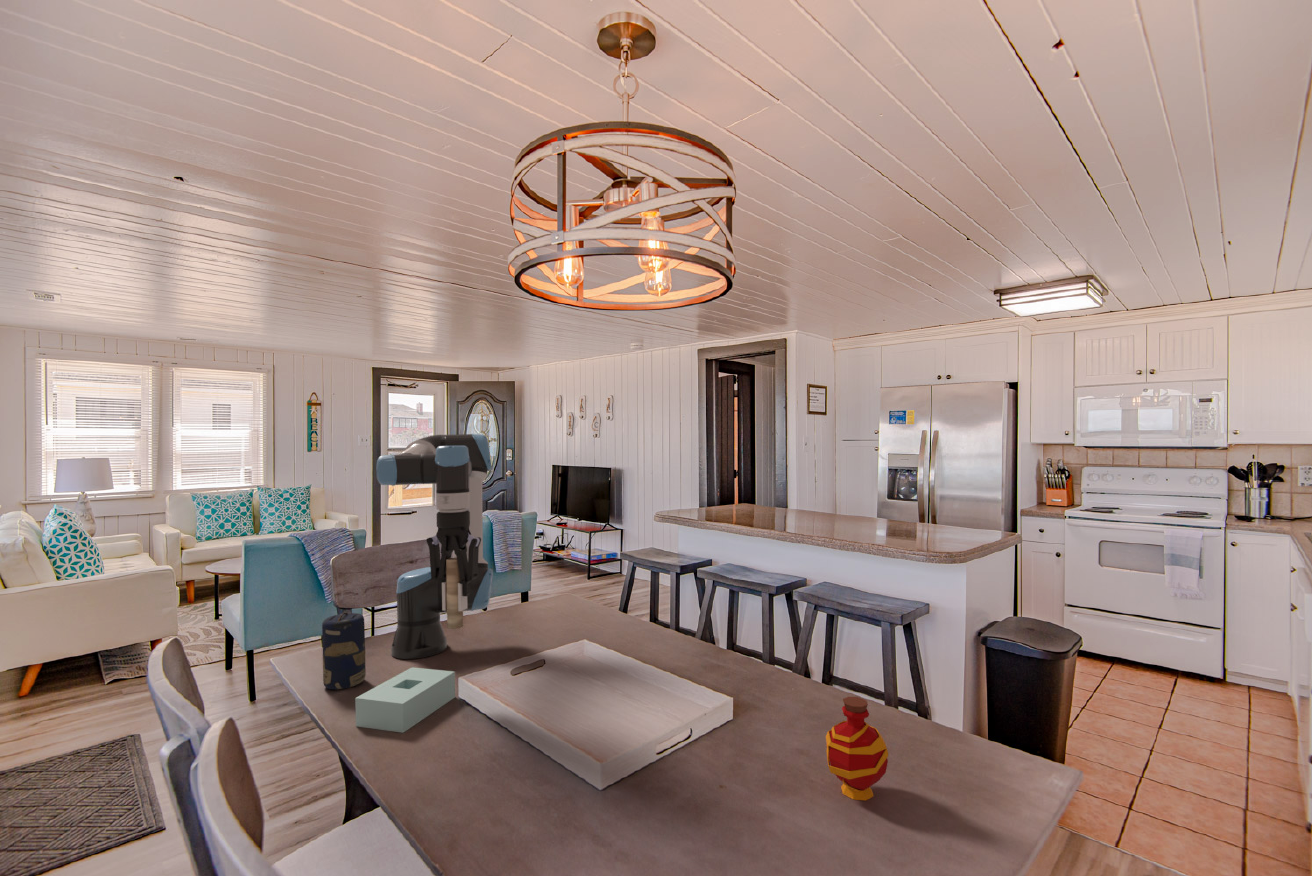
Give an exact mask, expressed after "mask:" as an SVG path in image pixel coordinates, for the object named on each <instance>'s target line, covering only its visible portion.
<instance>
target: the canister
mask: <svg viewBox="0 0 1312 876" xmlns="http://www.w3.org/2000/svg"><path fill="white" fill-rule="evenodd" d="M365 627H366V625H365V617H364V616H363V614H361V613H357V612H355V613H354V612H346V611H345V612H342V613H339V614H334V615H331V616H329V617H327V618H325V619H324V620H323V622H322V623H321V629H322V630H321V632H322V634H321V636H322V639H321V640H322V681H323V686H324V687H325V688H326V689H329V690H343V689H349V688H352V687H355V686H357V685H359V684H361V683H362V682H363V681H364V680H365V679H366V676H367V675H366V673H367V672H366V671H367V670H366V638H365V637H366V633H365V630H366V629H365Z"/></svg>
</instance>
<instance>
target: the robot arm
mask: <svg viewBox="0 0 1312 876" xmlns="http://www.w3.org/2000/svg"><path fill="white" fill-rule="evenodd" d="M375 470H376V479H377V482H378V484H380V485H381V486H392V487H393V486H403V485H407V486H409V485H436V486H435V487H436V489H435V490H436V492H435V493H436V494H435V496H436V497H435V499H436V503H435V504H436V510H437V513H436V527H437V532H436V534H435V535H434V536H431V537H427V538H426V540H425V541H426V544H427V545H428V551H429V565H430V567H429V566H428V567H422V568H417V569H413V570H410V571H406V572H404V573H403V574H401V575H400V576H399V577H398V578H397V581H396V582H397V583H396V591H395V593H396V616H397V618H396V619H397V620H396V621H397V627H396V630H395V633H394V635H393V640H392V643H391V646H390V656H392V657H393V658H396V659H401V660H415V659H422V658H423V659H424V658H428V657H431V656H435V655H438V654H440V653H442V652H443V651H445V650H446V649H447V648H448V639H447V636H446V635H445V631H444V628H443V625H442V623H441V613H443V614H445V613H447V581H446V559H449V558H456V557H457V562H458V568H459V574H460V579H461V581H460V582H459V583H458V611H463V612H466V611H467V612H468V611H471V612H474V611H478V610H484V609H486V608H487V607H488V606H489V604H490V601H491V600H490V599H491V595H492V584H493V576H494V570H493V568H489V563H488V561H487V560H486V559H485V558H484V555H483V554H484V553H483V551H484V549H483V548H484V544H483V543H484V537H483V535H484V534H483V517H484V516H483V482H484V480H485V479H486V478H487V477H488V472H490V471H492V470H493V466H492V460H491V453H490V446H489V440H488V437H487V436H486V435H485V434H475V433H470V434H468V433H467V434H465V433H463V434H461V433H460V434H434V435H429V436H426V437H421V438H419V439H416V440H414V441H412V442H410V443H409V444H408V445H406V447H405V448H404V450H403V451H402V452H401V453H398V454H392V453H389V454H386V455H385V454H384V455H380V456H379V457H378V458H377V460H376V469H375ZM440 545H441V546H440Z"/></svg>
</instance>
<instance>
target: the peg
mask: <svg viewBox="0 0 1312 876" xmlns="http://www.w3.org/2000/svg"><path fill="white" fill-rule="evenodd" d="M446 581H447V612H446V628H447V629H449V630H450V629H451V630H454V629H455V630H456V629H460V628H463V627H464V611H458V583H459V582H460V581H461V579H460V574H459V568H458V562H457V557H456V558H453V557H451V558H449V559H446Z"/></svg>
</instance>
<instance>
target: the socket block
mask: <svg viewBox="0 0 1312 876" xmlns="http://www.w3.org/2000/svg"><path fill="white" fill-rule="evenodd" d="M455 698H456V671H453V670H442V669H433V668H422V667H409V668H408V669H407V670H404V671H402V672H400V673H398V674H397V675H395V676H394V677H392V678H389V679H388V680H386V681H384V682H381V684H379V685H377V686H374V687H372V688H371V689H369V690H368V691H365V692H364V693H362V694H360V695H359V696H357V697H355V699H354V700H355V701H354V702H355V727H357V728H367V729H374V730H380V731H386V732H387V731H388V732H395V733H396V732H397V733H402V734H403V733H406V731H408V730H409V729H411V728H413V726H415V725H417V724H418V723H419V722H421V721H423V720H424V719H426V718H427V717H428V716H430V715H431V714H432V713H434V712H436V711H438V709H441V708H442V707H443V706H445V705H446V704H447V703H449V702H451V701H452V700H453V699H455Z"/></svg>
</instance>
